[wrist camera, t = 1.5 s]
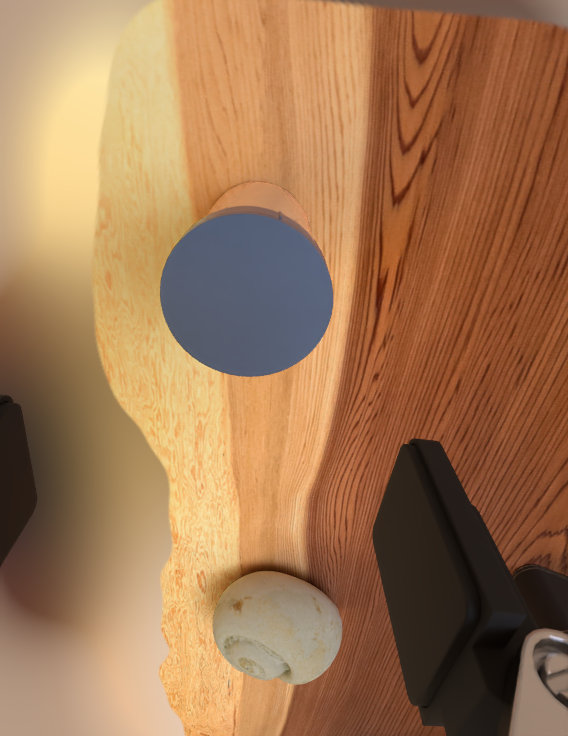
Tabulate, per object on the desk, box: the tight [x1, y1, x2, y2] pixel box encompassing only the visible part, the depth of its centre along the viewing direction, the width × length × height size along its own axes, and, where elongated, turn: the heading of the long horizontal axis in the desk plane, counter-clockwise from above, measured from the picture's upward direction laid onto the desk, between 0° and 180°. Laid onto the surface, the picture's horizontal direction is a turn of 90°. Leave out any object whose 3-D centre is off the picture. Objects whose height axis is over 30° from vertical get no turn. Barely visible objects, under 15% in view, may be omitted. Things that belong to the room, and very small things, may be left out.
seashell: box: [213, 571, 342, 685], centre depth 42 cm, size 13×8×10 cm
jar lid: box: [160, 206, 333, 377], centre depth 19 cm, size 7×7×2 cm
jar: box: [206, 182, 313, 238], centre depth 23 cm, size 6×6×10 cm
